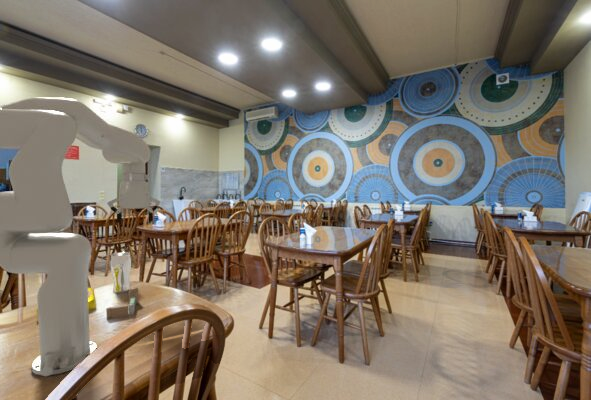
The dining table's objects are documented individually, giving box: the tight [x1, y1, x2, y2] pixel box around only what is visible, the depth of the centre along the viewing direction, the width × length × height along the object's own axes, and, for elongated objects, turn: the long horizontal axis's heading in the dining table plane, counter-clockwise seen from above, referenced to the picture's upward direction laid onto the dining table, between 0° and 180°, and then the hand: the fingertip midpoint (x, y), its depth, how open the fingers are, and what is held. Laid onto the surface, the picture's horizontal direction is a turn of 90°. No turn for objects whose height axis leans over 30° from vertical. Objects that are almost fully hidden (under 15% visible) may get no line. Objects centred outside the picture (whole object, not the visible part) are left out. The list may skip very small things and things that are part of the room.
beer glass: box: [110, 251, 132, 294], centre depth 114 cm, size 7×7×15 cm
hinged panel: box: [128, 286, 140, 311], centre depth 98 cm, size 10×3×6 cm, turn 26°
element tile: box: [36, 287, 96, 323], centre depth 97 cm, size 15×15×5 cm
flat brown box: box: [105, 303, 135, 320], centre depth 96 cm, size 19×19×4 cm
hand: (135, 223), depth 106 cm, fingers open, 9 cm apart
